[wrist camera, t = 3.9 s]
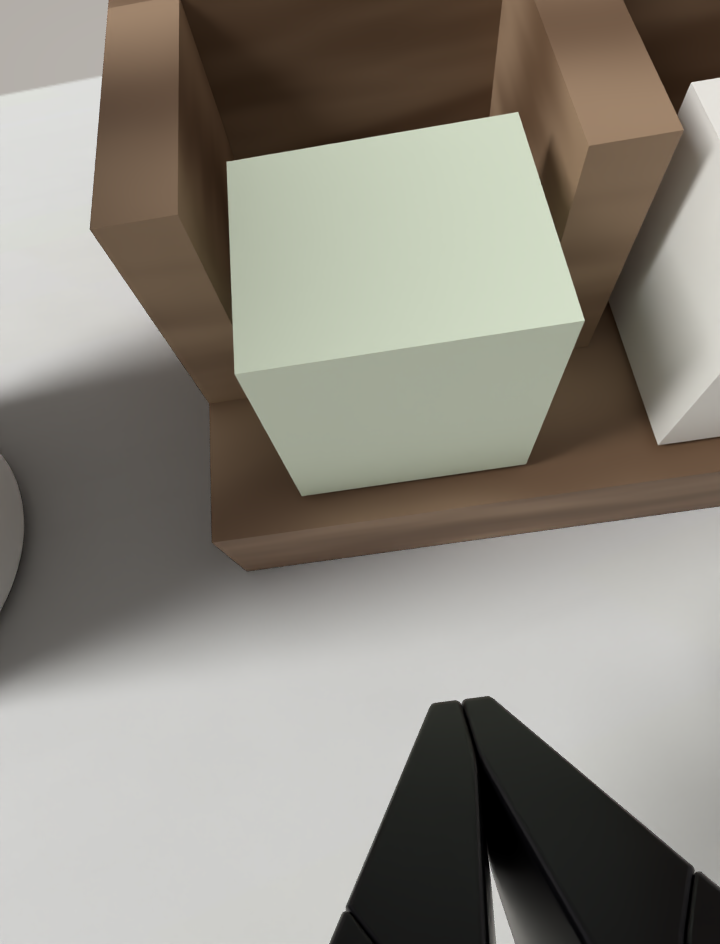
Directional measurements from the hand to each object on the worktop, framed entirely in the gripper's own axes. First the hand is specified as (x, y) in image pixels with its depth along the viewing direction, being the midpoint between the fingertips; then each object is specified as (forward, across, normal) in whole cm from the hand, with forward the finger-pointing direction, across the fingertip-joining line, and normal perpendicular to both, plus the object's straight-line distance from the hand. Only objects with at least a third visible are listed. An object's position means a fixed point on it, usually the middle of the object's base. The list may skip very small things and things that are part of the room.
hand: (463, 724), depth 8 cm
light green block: (+13, 0, +1) cm, 13 cm away
